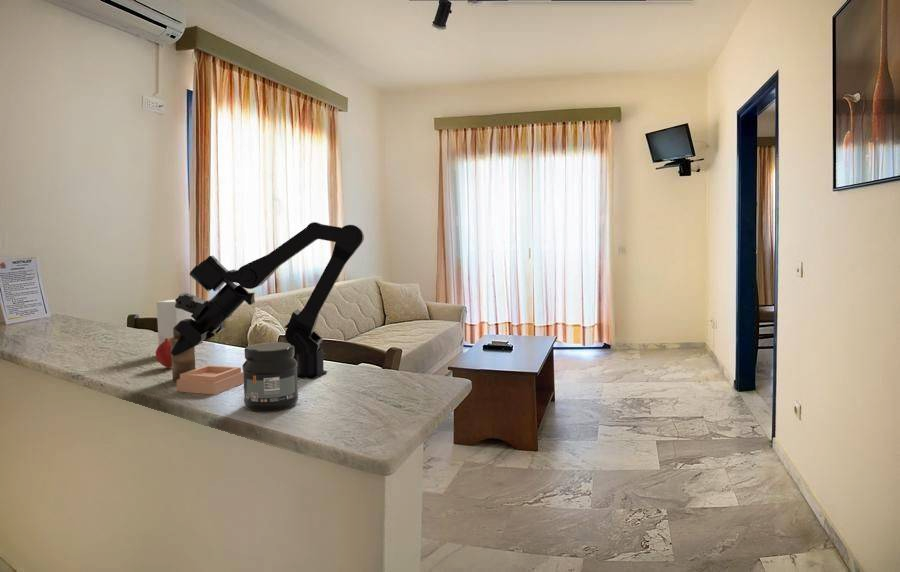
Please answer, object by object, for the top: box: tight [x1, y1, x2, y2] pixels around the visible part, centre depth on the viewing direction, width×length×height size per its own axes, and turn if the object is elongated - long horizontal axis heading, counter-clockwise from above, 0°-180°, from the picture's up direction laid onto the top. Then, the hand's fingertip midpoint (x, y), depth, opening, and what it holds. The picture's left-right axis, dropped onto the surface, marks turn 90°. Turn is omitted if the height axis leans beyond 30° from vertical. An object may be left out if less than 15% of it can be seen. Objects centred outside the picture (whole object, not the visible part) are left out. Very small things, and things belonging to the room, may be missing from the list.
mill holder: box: [176, 364, 244, 396], centre depth 126 cm, size 10×10×4 cm
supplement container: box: [241, 341, 299, 413], centre depth 112 cm, size 10×10×12 cm
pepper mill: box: [170, 327, 197, 383], centre depth 133 cm, size 5×5×12 cm
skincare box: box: [155, 299, 197, 352], centre depth 161 cm, size 8×7×16 cm
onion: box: [155, 338, 172, 369], centre depth 144 cm, size 6×6×8 cm
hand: (177, 351), depth 132 cm, fingers closed on pepper mill, 5 cm apart
